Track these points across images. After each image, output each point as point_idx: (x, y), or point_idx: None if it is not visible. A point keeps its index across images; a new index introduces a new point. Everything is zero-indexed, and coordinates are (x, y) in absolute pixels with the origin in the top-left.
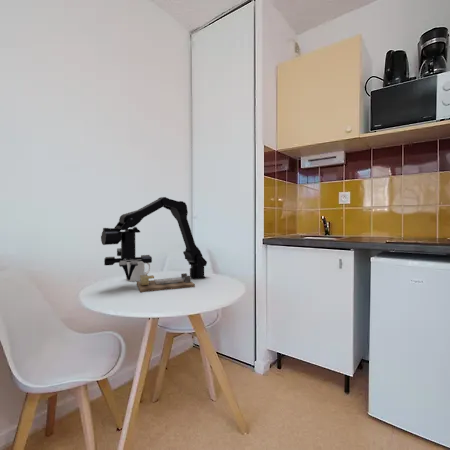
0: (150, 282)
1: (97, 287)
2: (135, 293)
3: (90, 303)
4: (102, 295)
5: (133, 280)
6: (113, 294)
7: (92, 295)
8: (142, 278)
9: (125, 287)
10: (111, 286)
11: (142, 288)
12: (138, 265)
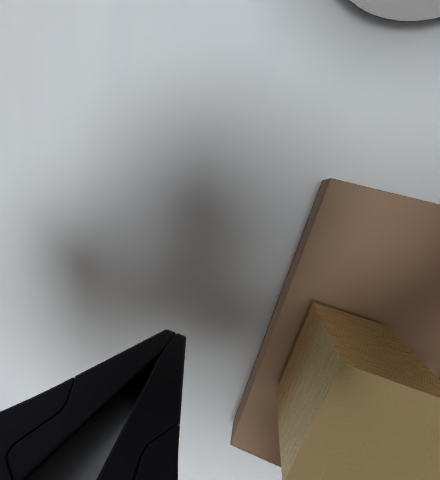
0: (434, 314)
1: (27, 96)
2: (201, 419)
3: (5, 408)
4: (47, 329)
5: (365, 5)
6: (95, 351)
7: (6, 295)
8: (294, 473)
9: (198, 234)
10: (116, 126)
11: (253, 438)
12: None
